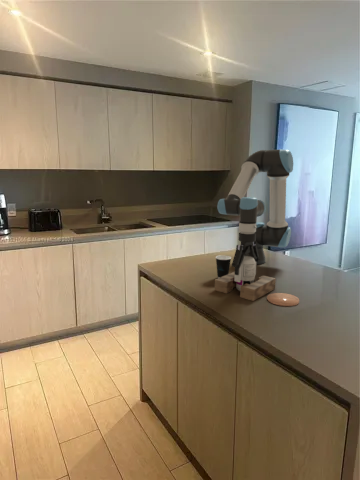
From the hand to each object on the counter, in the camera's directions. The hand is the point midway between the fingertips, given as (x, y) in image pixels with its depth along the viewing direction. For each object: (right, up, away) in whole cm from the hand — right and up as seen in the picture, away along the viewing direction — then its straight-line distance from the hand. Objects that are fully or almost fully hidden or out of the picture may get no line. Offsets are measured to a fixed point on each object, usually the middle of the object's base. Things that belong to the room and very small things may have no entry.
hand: (245, 278), depth 158 cm
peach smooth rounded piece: (+14, -8, -12) cm, 20 cm away
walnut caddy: (0, -5, +1) cm, 6 cm away
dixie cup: (-8, -2, +17) cm, 19 cm away
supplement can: (0, -6, +1) cm, 6 cm away
